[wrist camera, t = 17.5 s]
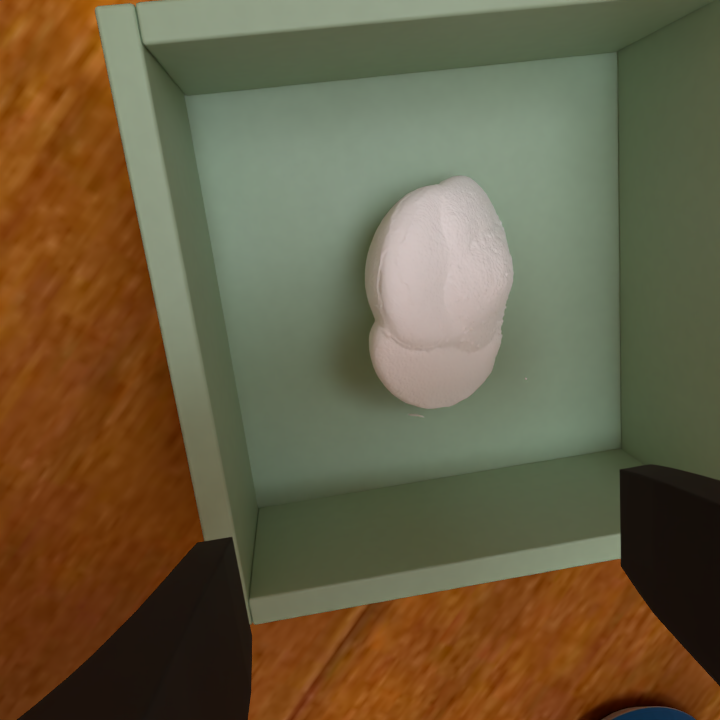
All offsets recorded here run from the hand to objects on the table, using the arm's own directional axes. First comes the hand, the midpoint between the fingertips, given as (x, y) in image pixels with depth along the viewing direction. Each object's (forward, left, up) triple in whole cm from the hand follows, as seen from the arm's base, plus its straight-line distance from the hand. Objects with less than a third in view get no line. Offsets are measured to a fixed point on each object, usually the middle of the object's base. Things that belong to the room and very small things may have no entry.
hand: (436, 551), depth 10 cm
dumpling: (+2, +3, -9) cm, 10 cm away
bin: (+2, +3, -10) cm, 10 cm away
